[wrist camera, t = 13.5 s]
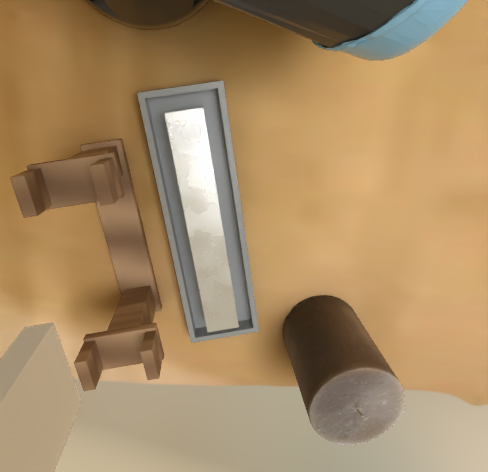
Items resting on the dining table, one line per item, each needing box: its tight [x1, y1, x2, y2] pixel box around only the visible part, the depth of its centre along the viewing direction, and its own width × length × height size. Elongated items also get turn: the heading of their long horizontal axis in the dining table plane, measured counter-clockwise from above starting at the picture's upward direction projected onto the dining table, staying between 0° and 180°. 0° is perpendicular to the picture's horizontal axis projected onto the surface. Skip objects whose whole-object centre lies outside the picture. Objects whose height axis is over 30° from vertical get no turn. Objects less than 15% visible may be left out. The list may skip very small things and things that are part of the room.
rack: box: [10, 139, 164, 391], centre depth 38 cm, size 20×7×14 cm, turn 8°
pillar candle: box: [283, 296, 405, 445], centre depth 44 cm, size 10×10×15 cm
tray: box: [137, 81, 259, 343], centre depth 43 cm, size 28×8×2 cm, turn 8°
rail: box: [165, 107, 239, 332], centre depth 42 cm, size 24×4×4 cm, turn 8°
